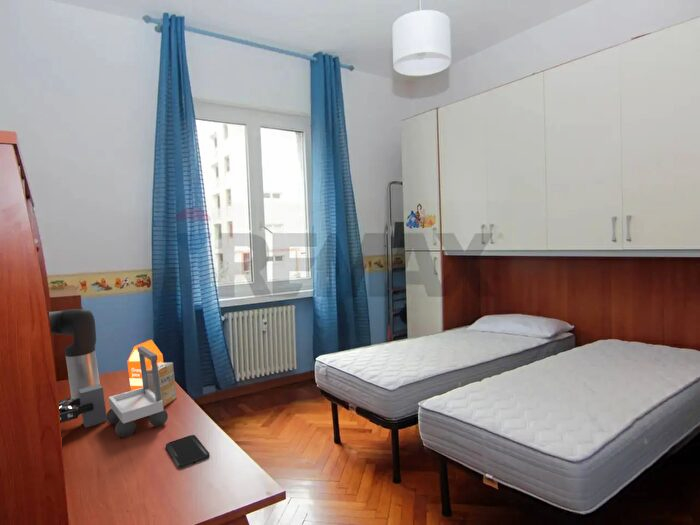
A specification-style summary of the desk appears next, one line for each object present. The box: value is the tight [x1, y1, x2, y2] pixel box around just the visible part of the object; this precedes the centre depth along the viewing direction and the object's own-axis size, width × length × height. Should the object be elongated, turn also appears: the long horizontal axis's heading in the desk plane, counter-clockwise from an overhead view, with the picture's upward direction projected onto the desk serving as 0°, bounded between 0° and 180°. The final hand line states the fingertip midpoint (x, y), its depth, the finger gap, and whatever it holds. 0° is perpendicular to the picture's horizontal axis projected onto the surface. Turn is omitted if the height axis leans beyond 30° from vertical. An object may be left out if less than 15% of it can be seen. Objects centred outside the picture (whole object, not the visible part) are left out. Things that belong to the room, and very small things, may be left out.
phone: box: [165, 434, 211, 469], centre depth 113 cm, size 8×1×15 cm
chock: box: [79, 383, 108, 429], centre depth 136 cm, size 4×6×11 cm
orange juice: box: [127, 339, 164, 391], centre depth 154 cm, size 8×9×20 cm
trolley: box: [106, 346, 169, 439], centre depth 132 cm, size 18×14×22 cm
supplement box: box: [147, 362, 177, 408], centre depth 148 cm, size 8×5×13 cm, turn 168°
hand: (91, 402), depth 136 cm, fingers open, 8 cm apart
